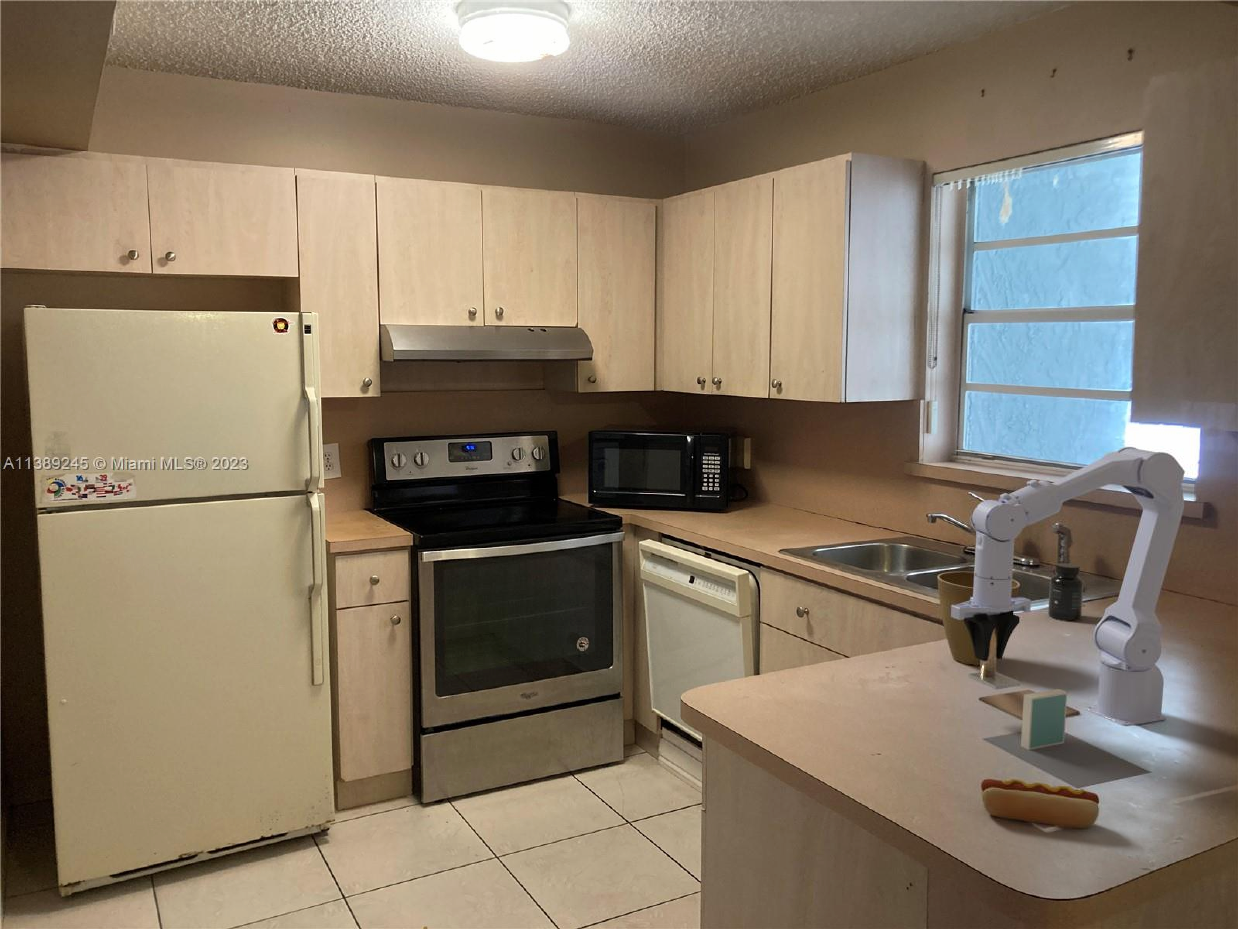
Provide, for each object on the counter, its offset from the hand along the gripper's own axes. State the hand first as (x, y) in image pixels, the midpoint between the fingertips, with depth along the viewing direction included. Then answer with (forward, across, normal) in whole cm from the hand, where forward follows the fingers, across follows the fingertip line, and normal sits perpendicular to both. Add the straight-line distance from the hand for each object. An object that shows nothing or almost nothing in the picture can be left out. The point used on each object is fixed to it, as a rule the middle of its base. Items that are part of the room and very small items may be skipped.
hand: (988, 658), depth 157 cm
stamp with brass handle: (+3, 0, +1) cm, 4 cm away
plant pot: (+10, -20, -25) cm, 34 cm away
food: (+11, +18, +29) cm, 36 cm away
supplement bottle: (+10, -61, -42) cm, 75 cm away
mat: (+10, 0, +16) cm, 19 cm away
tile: (+10, 0, +12) cm, 15 cm away
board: (+10, -10, -1) cm, 14 cm away
